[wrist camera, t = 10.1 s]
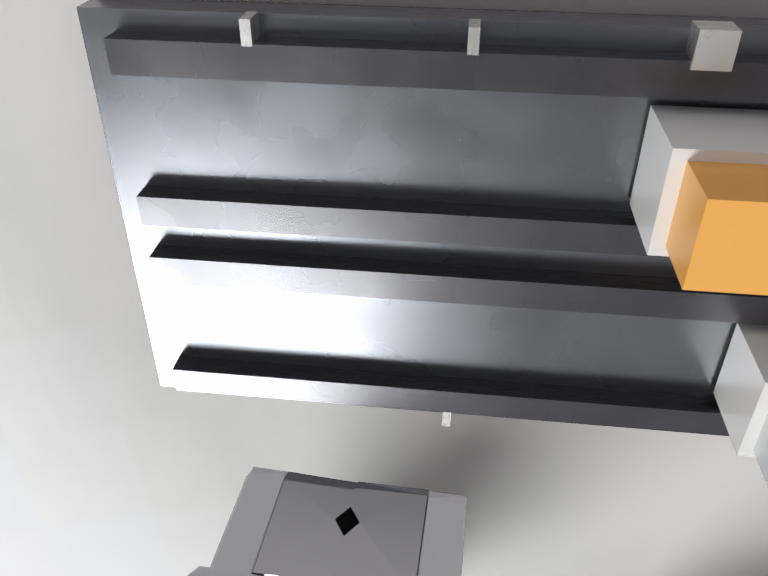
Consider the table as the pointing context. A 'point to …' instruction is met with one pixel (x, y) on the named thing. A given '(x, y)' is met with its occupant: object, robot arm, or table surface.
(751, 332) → the fader
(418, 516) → the robot arm
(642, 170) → the fader
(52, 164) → the table surface
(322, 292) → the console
